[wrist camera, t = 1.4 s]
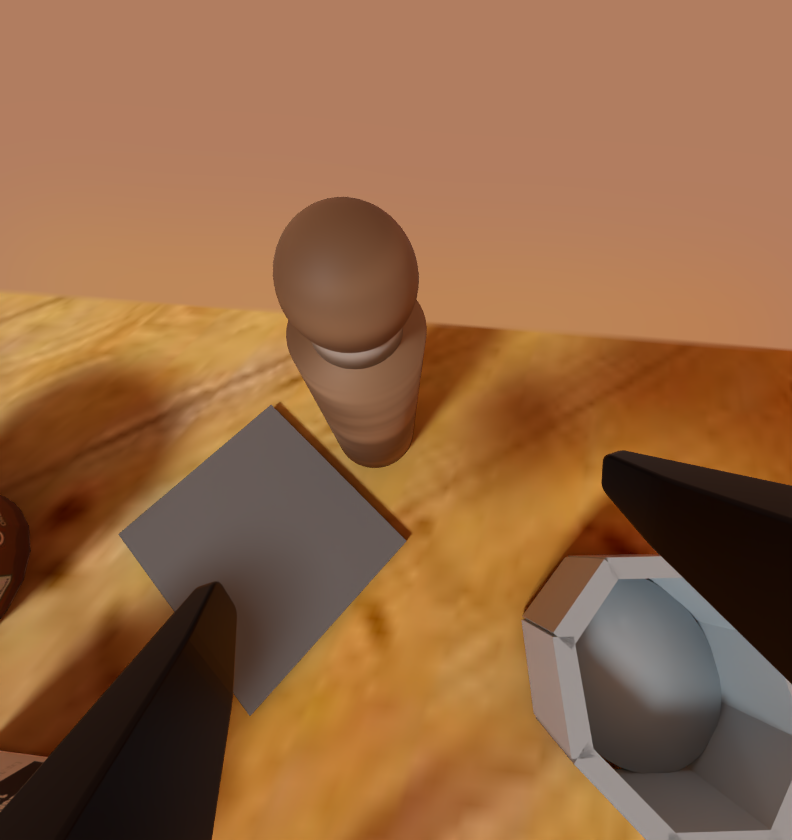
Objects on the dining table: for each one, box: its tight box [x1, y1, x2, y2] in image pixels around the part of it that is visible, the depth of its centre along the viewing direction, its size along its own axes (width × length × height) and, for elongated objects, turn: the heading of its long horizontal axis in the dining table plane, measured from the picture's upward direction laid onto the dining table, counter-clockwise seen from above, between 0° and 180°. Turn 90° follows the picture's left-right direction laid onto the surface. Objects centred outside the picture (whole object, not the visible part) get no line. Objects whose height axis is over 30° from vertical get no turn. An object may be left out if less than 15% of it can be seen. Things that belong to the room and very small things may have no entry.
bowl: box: [522, 554, 792, 840], centre depth 16 cm, size 10×10×4 cm
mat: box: [119, 405, 406, 716], centre depth 20 cm, size 12×11×1 cm
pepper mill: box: [273, 197, 426, 468], centre depth 15 cm, size 5×5×15 cm
